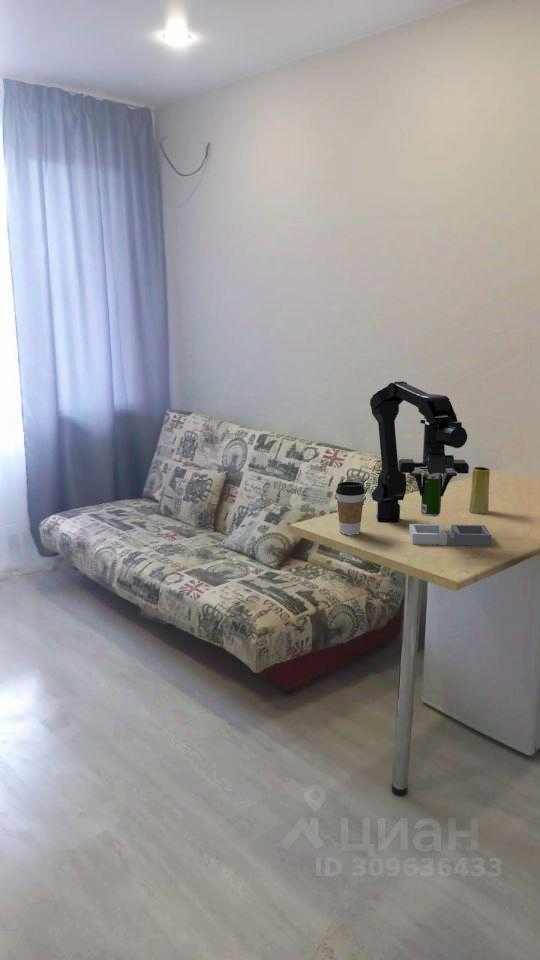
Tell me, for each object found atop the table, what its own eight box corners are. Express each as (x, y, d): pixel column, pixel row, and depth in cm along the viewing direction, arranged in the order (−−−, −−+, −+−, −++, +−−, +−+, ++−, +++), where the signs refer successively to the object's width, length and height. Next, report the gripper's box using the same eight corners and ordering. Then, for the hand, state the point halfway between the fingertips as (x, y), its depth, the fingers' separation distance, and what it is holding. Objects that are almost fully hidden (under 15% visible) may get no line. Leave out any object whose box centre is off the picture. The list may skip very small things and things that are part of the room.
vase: (473, 507, 230) (476, 465, 227) (491, 511, 226) (494, 468, 223) (465, 512, 226) (468, 469, 222) (484, 515, 222) (486, 471, 218)
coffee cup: (341, 538, 202) (342, 487, 198) (331, 529, 210) (331, 481, 206) (368, 535, 204) (369, 485, 200) (357, 527, 212) (358, 478, 208)
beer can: (431, 518, 195) (433, 476, 192) (416, 513, 199) (418, 472, 196) (444, 514, 197) (446, 473, 195) (430, 510, 202) (432, 469, 199)
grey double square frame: (412, 544, 196) (412, 533, 195) (409, 533, 205) (409, 523, 204) (490, 545, 194) (491, 535, 193) (483, 534, 203) (484, 525, 202)
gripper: (403, 447, 186) (401, 503, 190) (474, 447, 185) (470, 504, 188) (398, 439, 197) (396, 492, 201) (466, 439, 195) (463, 493, 199)
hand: (431, 495), depth 197 cm, fingers closed on beer can, 5 cm apart
